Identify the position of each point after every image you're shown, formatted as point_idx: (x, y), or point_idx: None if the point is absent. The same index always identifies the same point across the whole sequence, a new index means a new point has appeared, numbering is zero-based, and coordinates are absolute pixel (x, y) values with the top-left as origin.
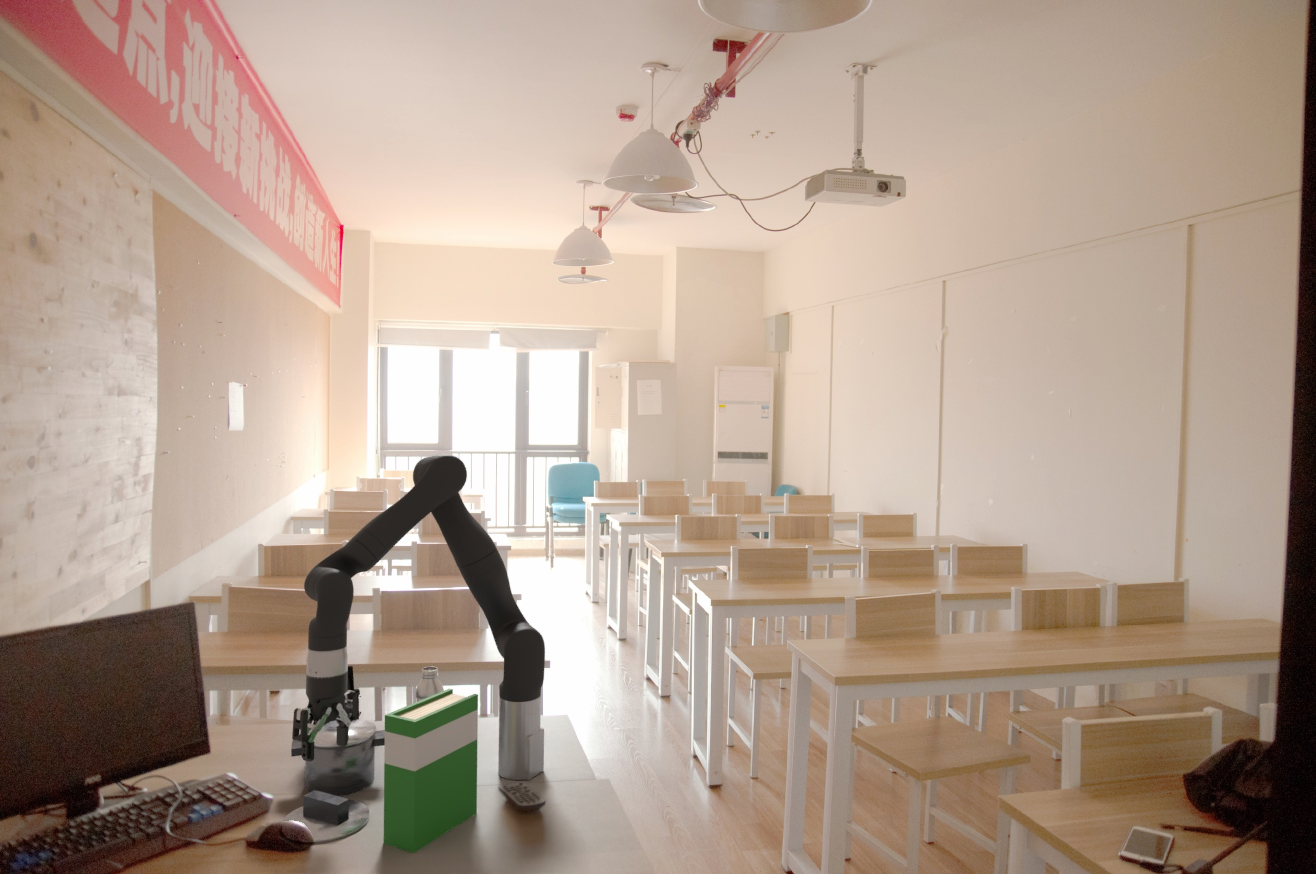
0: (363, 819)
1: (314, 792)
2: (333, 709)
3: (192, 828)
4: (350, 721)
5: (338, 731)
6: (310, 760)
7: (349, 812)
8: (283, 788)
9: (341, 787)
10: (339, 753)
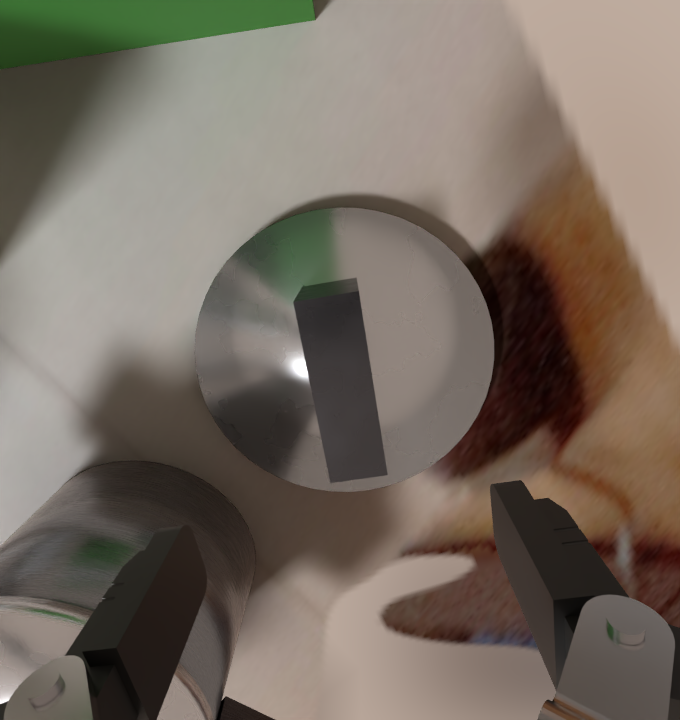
0: (266, 239)
1: (343, 466)
2: None
3: None
4: (9, 707)
5: (164, 667)
6: (522, 485)
7: (267, 331)
8: (289, 632)
9: (189, 493)
10: None
